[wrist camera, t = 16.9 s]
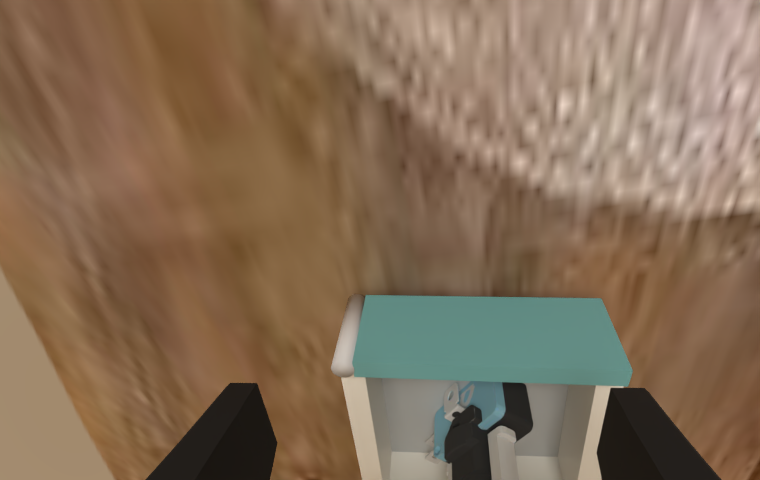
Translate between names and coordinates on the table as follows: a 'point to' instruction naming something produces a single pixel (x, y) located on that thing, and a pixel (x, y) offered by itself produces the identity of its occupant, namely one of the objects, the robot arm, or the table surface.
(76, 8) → the table surface
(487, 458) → the push button
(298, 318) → the table surface
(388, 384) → the bay
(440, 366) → the gate
